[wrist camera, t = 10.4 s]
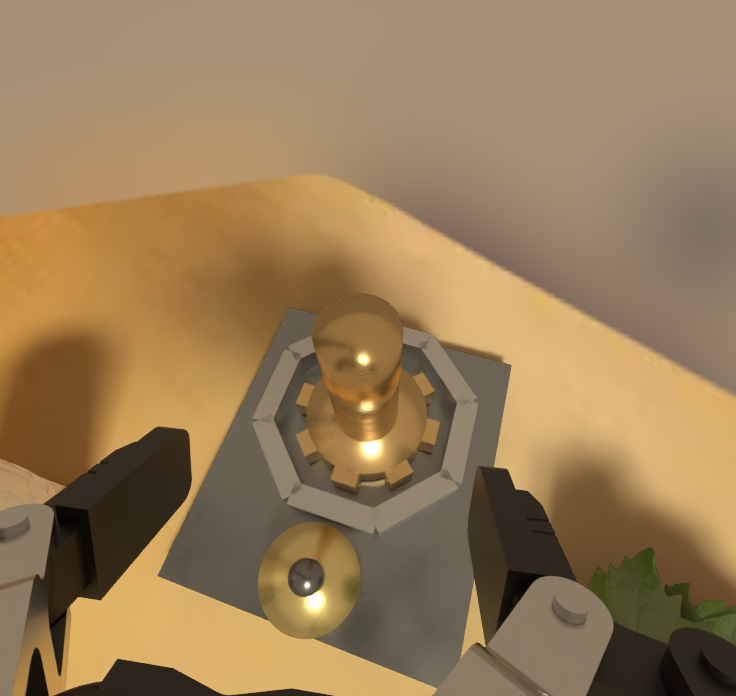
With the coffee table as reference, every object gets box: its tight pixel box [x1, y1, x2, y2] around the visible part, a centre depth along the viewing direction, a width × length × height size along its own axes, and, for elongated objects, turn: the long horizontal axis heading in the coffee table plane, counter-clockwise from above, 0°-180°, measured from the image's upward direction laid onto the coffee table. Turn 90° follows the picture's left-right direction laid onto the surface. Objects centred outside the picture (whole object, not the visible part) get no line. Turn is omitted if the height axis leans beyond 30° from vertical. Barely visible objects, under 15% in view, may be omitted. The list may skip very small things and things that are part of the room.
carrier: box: [158, 308, 511, 688], centre depth 24 cm, size 16×18×4 cm
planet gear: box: [296, 294, 440, 493], centre depth 21 cm, size 8×8×11 cm
